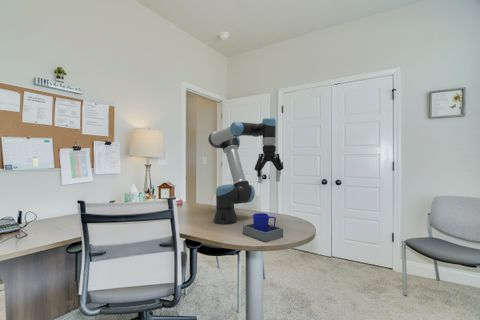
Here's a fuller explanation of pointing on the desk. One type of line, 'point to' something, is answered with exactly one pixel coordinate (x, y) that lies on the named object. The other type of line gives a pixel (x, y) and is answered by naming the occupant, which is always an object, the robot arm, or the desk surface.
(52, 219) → the desk surface
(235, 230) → the desk surface
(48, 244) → the desk surface
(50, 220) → the desk surface
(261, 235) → the tray
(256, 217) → the mug
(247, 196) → the robot arm
